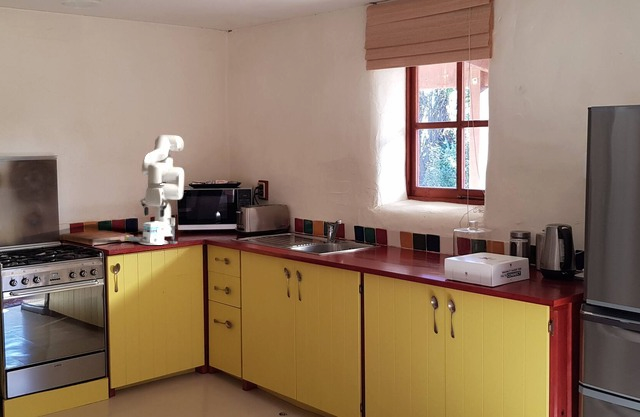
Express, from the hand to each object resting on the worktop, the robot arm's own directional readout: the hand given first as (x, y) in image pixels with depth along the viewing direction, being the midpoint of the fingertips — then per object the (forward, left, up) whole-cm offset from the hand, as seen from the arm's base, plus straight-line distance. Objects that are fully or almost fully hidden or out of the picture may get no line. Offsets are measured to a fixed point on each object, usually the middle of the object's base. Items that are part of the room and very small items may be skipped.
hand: (154, 215), depth 422 cm
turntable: (+1, -5, -16) cm, 16 cm away
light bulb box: (0, 0, -15) cm, 15 cm away
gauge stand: (-6, +9, -16) cm, 19 cm away
